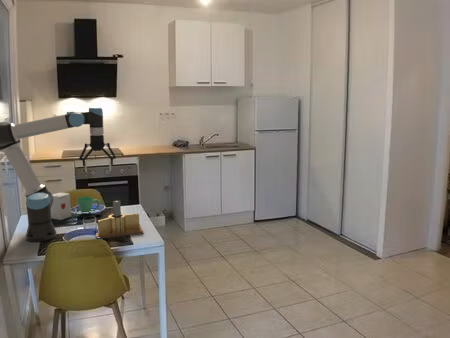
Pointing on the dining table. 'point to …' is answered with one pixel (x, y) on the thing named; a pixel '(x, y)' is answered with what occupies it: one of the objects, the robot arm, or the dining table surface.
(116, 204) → the hinge pin
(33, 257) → the dining table surface
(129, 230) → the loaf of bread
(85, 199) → the mug
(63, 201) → the supplement box
